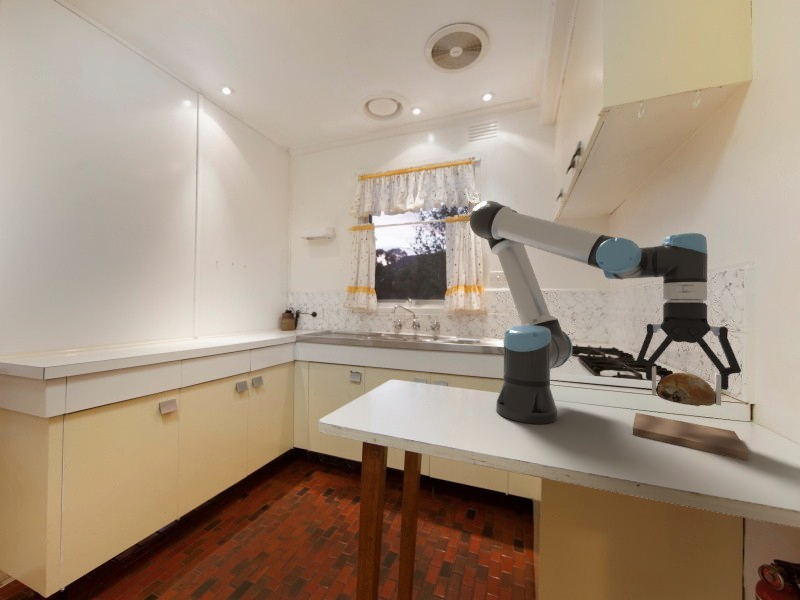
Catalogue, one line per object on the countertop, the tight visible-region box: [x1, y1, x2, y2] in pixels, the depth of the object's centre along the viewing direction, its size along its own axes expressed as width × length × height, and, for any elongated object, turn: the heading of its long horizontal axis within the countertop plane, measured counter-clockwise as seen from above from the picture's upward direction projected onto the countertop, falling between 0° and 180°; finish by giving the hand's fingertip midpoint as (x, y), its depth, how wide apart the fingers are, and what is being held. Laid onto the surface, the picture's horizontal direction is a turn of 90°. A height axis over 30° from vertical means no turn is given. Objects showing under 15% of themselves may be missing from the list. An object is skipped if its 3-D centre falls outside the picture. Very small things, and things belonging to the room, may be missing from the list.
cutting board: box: [632, 412, 749, 461], centre depth 72 cm, size 18×14×2 cm
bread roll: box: [656, 372, 716, 407], centre depth 72 cm, size 10×10×8 cm
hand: (684, 398), depth 72 cm, fingers closed on bread roll, 10 cm apart
